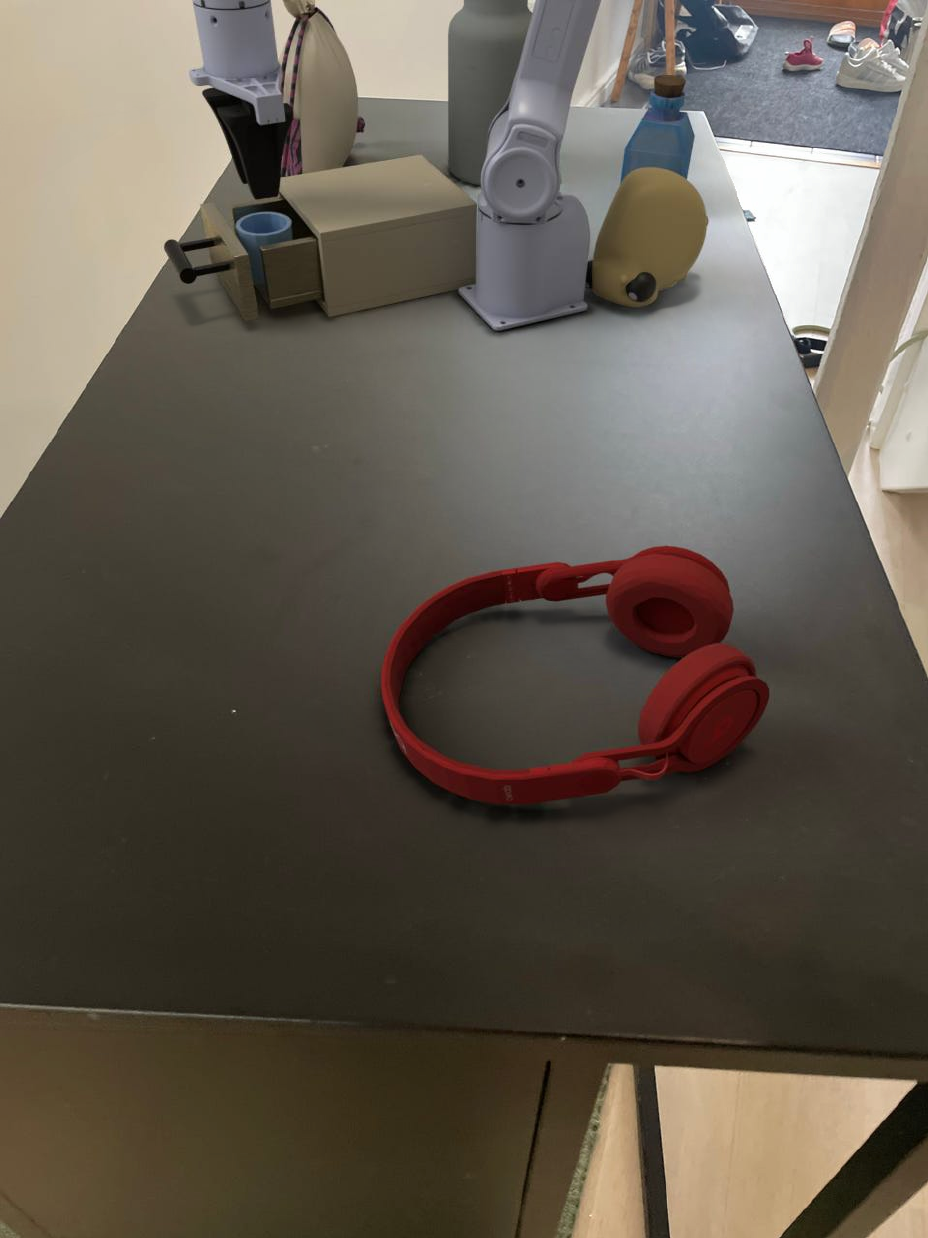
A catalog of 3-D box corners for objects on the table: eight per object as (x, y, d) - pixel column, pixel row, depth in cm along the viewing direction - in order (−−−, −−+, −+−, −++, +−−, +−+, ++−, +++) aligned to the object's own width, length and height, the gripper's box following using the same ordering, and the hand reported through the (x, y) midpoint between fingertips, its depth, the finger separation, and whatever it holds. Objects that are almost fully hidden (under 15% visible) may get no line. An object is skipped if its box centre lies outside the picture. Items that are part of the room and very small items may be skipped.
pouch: (317, 140, 111) (298, -51, 97) (383, 144, 110) (374, -47, 96) (255, 227, 94) (220, 11, 80) (332, 233, 93) (311, 16, 79)
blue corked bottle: (683, 195, 100) (706, 73, 92) (674, 218, 96) (696, 92, 88) (628, 187, 102) (645, 67, 93) (616, 209, 98) (632, 85, 89)
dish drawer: (196, 332, 78) (182, 266, 73) (166, 275, 85) (151, 212, 80) (390, 291, 83) (387, 227, 79) (346, 240, 90) (341, 179, 86)
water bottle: (455, 151, 109) (456, -154, 88) (536, 156, 108) (556, -151, 87) (442, 185, 102) (439, -138, 81) (529, 191, 101) (548, -134, 81)
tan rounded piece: (592, 307, 90) (544, 263, 81) (650, 191, 88) (608, 132, 79) (675, 340, 85) (635, 297, 76) (739, 218, 83) (705, 158, 74)
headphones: (709, 593, 57) (394, 639, 58) (717, 507, 52) (371, 558, 53) (783, 797, 47) (400, 848, 48) (802, 714, 42) (372, 774, 43)
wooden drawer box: (328, 317, 81) (319, 232, 76) (285, 258, 89) (274, 178, 84) (475, 285, 86) (477, 203, 80) (422, 232, 93) (420, 154, 88)
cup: (288, 256, 85) (281, 207, 82) (304, 278, 82) (298, 229, 79) (238, 266, 84) (229, 217, 80) (252, 289, 81) (244, 239, 77)
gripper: (156, -18, 71) (192, 165, 81) (202, 31, 62) (237, 230, 72) (244, -26, 73) (269, 153, 83) (302, 20, 64) (322, 215, 74)
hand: (259, 188), depth 77 cm, fingers open, 3 cm apart
